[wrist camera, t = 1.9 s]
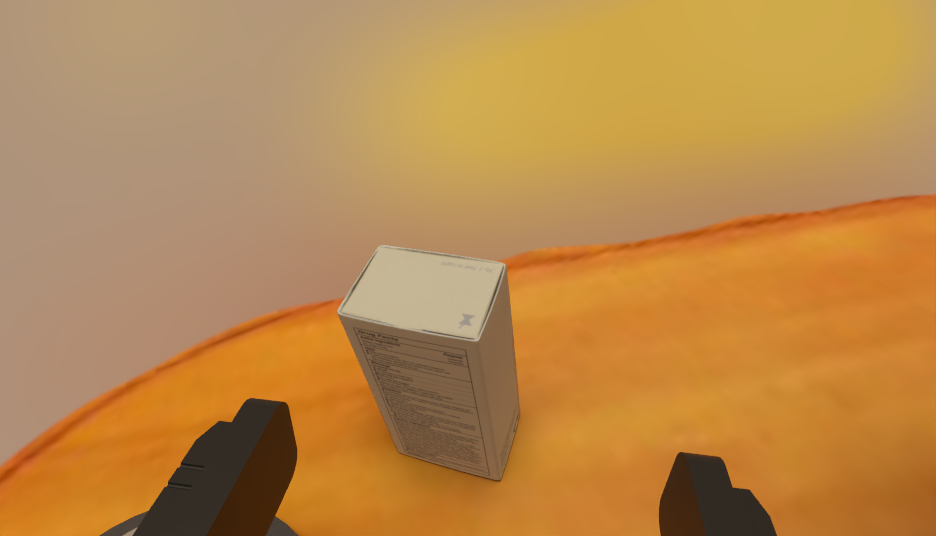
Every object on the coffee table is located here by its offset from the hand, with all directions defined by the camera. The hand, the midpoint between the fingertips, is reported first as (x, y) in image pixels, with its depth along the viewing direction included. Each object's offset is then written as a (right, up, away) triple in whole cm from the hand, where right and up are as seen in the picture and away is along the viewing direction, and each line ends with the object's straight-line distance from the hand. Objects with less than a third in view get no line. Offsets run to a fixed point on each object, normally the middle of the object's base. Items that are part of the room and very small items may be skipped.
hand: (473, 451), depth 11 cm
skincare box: (-1, -6, +20) cm, 20 cm away
